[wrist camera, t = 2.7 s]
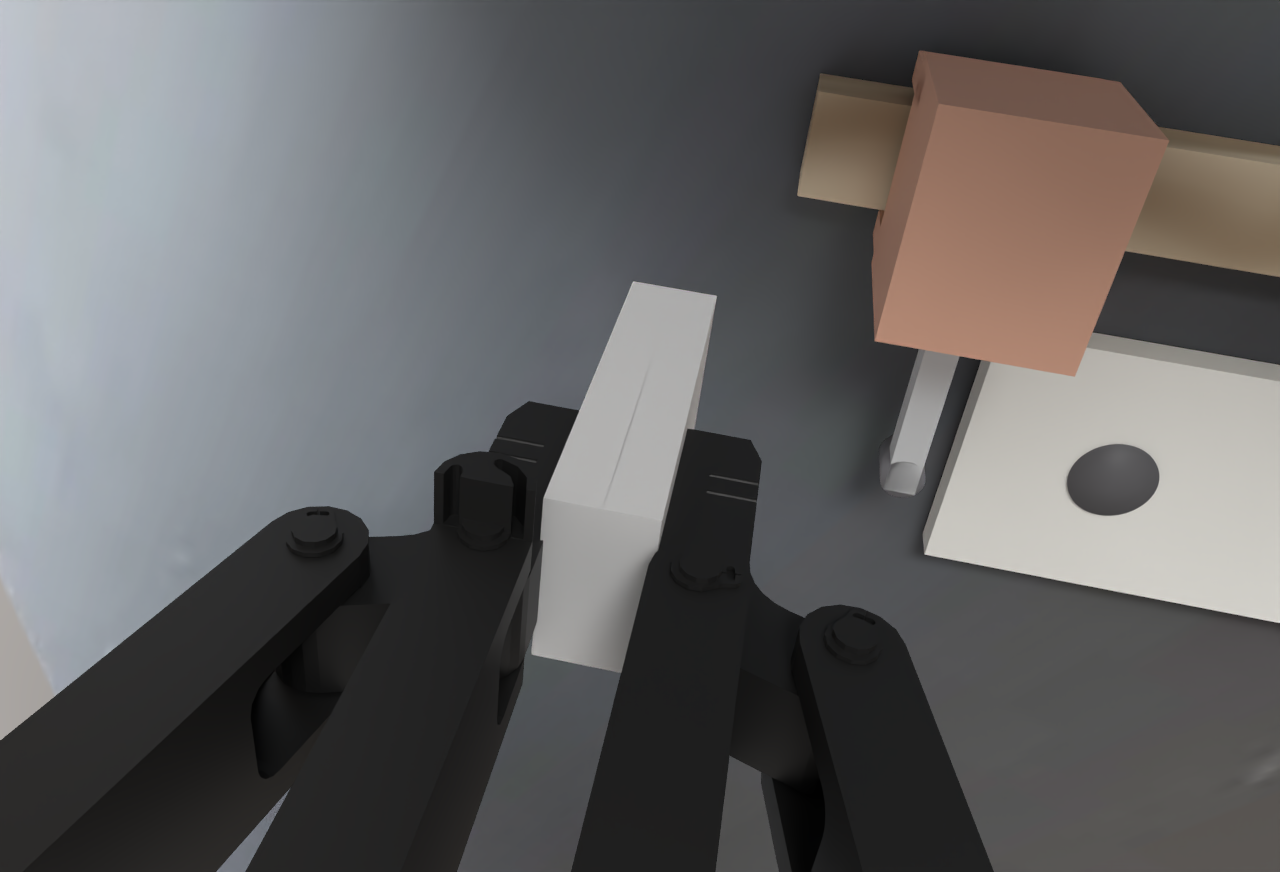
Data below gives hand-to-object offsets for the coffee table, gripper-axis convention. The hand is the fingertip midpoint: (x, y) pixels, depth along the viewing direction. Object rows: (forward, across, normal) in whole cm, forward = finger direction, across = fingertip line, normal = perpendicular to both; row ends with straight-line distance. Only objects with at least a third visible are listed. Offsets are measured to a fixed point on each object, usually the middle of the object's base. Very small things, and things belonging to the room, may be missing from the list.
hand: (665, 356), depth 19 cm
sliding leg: (+14, +7, -3) cm, 16 cm away
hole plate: (+15, +20, -9) cm, 27 cm away
